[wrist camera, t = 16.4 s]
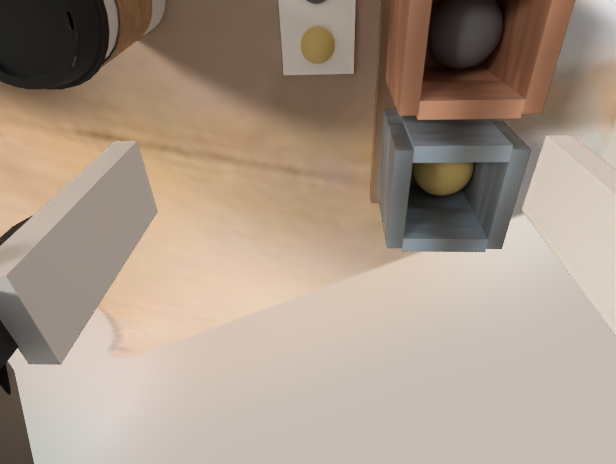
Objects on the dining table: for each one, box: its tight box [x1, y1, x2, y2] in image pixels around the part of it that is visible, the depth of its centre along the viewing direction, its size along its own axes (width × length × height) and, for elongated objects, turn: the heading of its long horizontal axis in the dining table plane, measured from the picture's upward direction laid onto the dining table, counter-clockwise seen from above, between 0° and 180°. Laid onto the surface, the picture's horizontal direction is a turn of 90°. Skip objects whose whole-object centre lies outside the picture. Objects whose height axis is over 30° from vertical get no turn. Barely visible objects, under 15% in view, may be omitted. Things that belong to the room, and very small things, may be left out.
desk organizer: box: [370, 0, 575, 252], centre depth 30 cm, size 10×21×10 cm, turn 2°
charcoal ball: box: [428, 0, 503, 69], centre depth 28 cm, size 5×5×5 cm
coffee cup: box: [0, 0, 166, 90], centre depth 26 cm, size 8×8×15 cm
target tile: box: [278, 0, 356, 75], centre depth 32 cm, size 6×9×1 cm, turn 2°
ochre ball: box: [412, 162, 474, 196], centre depth 34 cm, size 5×5×5 cm
